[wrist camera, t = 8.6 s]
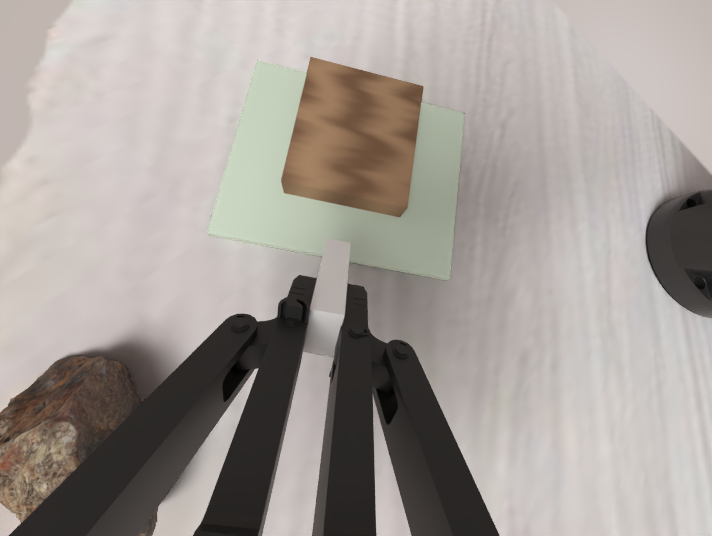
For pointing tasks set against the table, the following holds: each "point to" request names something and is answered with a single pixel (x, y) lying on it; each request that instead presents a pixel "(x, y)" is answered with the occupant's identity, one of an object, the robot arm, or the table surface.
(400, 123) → the board
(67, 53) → the table surface
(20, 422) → the rock
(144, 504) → the robot arm
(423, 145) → the mat
